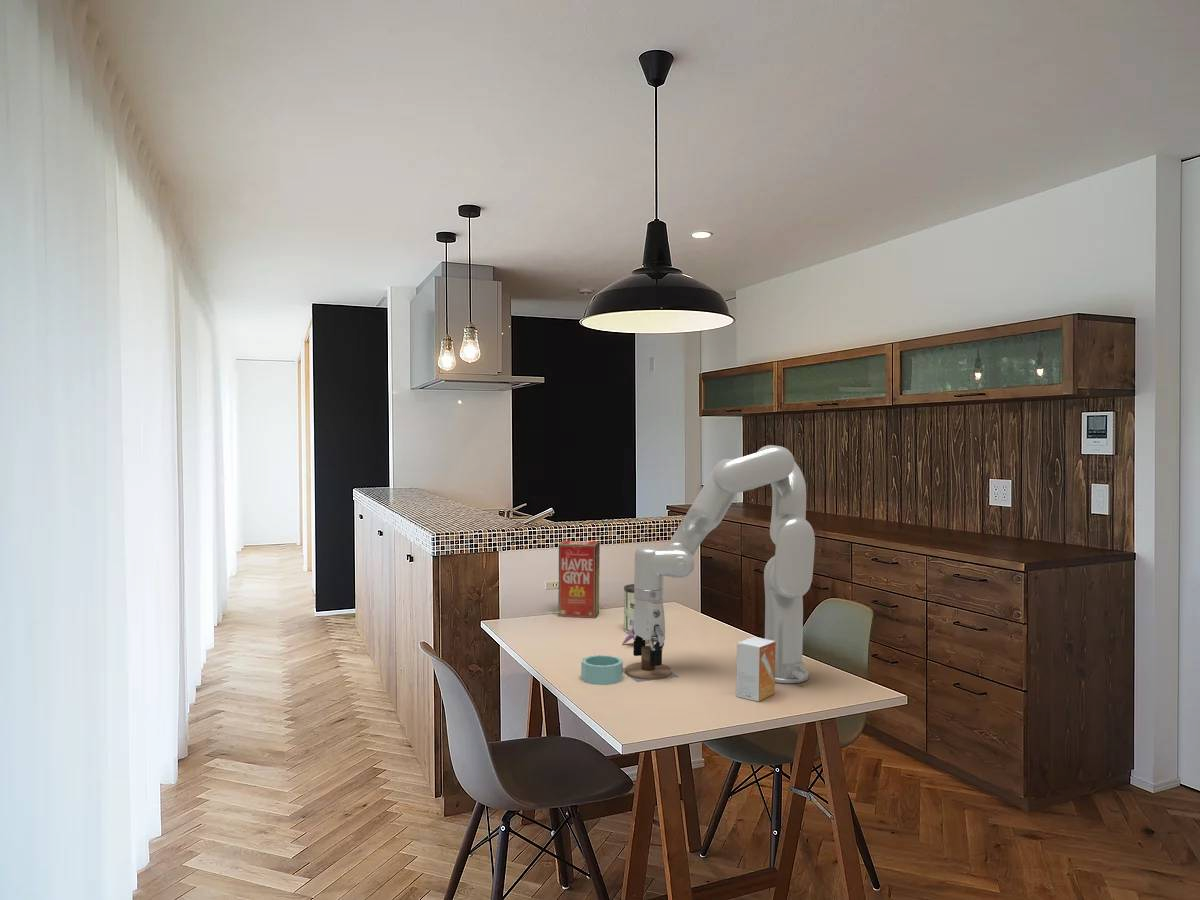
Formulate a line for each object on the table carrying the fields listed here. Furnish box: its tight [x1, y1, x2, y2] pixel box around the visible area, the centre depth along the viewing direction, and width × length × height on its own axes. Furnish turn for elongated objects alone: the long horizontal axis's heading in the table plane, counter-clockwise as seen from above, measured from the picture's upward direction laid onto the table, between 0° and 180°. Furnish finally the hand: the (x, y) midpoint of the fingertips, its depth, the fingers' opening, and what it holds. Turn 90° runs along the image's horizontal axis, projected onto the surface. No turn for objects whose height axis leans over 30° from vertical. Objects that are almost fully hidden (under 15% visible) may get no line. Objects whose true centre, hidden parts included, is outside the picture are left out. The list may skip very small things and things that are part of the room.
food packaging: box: [557, 540, 601, 619], centre depth 276 cm, size 13×9×25 cm
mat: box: [623, 667, 680, 683], centre depth 208 cm, size 12×12×1 cm
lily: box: [621, 629, 650, 646], centre depth 237 cm, size 12×12×10 cm
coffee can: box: [623, 583, 635, 633], centre depth 254 cm, size 10×10×14 cm
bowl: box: [580, 654, 624, 686], centre depth 203 cm, size 10×10×5 cm
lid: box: [624, 645, 672, 681], centre depth 208 cm, size 12×12×6 cm
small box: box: [735, 636, 776, 702], centre depth 192 cm, size 8×6×13 cm
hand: (647, 660), depth 208 cm, fingers open, 9 cm apart
